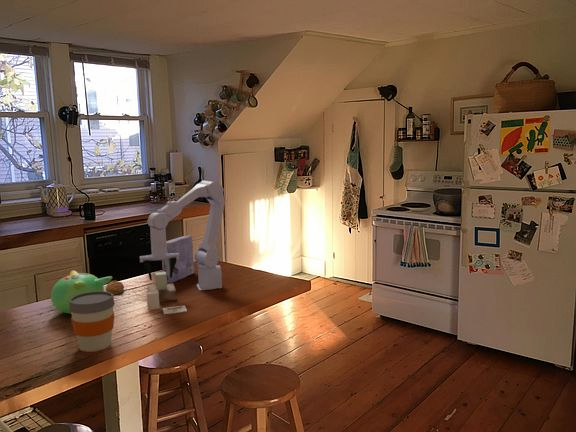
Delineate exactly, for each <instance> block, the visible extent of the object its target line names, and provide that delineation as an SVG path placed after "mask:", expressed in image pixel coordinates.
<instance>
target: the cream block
mask: <svg viewBox="0 0 576 432" xmlns="http://www.w3.org/2000/svg"><path fill="white" fill-rule="evenodd" d="M146 305H147V306H146V307H147V310H148V311H152V310H159V309H160V308H161V307H160V302H159V292H158V290H150V291H148V290H146Z"/></svg>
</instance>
